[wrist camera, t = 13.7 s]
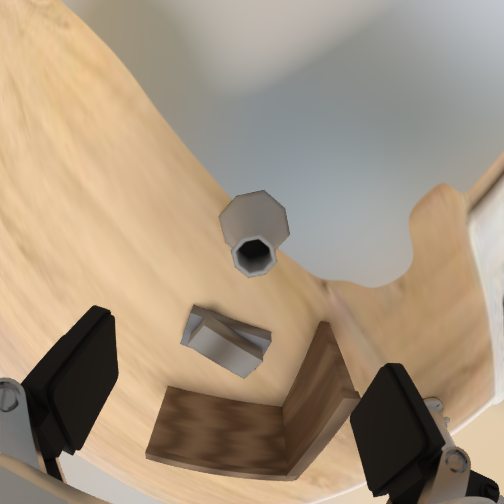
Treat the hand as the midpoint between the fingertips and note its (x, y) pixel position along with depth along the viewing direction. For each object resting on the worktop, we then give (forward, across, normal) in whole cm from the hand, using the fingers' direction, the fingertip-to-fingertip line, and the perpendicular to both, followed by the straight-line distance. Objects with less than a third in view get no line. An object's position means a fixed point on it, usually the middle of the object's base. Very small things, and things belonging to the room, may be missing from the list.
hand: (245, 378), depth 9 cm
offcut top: (+20, 0, +14) cm, 25 cm away
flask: (+22, 0, 0) cm, 22 cm away
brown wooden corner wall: (+22, -2, +19) cm, 29 cm away
